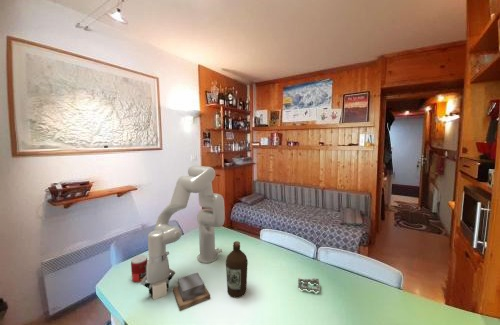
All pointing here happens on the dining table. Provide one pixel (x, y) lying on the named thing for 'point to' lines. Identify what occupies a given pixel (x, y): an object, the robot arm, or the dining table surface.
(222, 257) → the dining table surface
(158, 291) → the cream cube
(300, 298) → the dining table surface
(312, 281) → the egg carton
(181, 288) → the pedestal
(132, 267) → the canned food
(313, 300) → the dining table surface
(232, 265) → the olive oil
